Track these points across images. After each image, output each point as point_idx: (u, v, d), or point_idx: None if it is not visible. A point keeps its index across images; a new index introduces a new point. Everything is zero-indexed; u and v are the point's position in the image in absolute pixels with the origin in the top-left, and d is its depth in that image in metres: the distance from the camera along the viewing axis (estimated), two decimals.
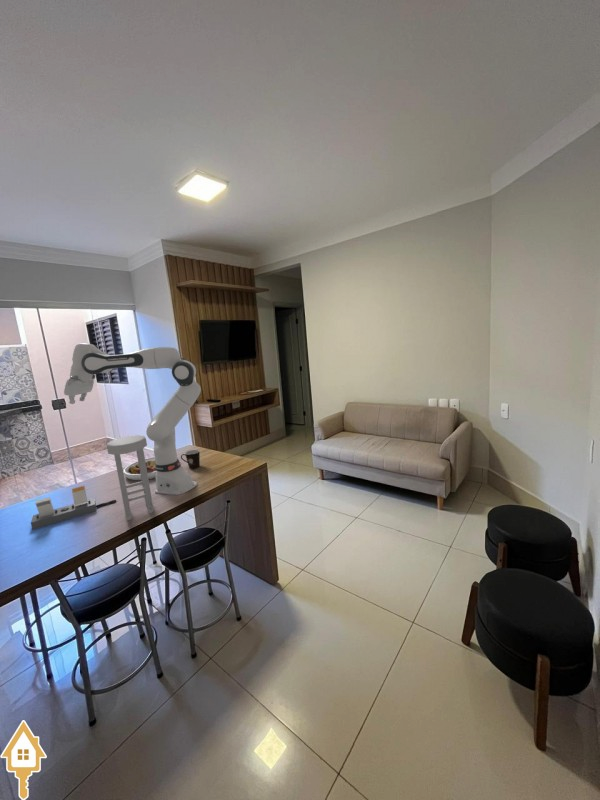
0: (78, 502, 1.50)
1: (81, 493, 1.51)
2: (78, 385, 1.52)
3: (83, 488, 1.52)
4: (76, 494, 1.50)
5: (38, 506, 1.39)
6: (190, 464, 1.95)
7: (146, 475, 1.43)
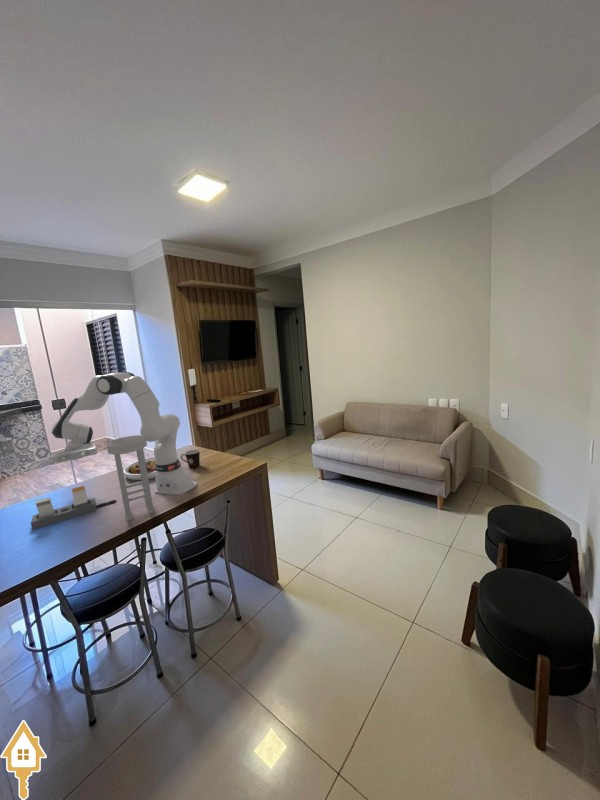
0: (78, 502, 1.50)
1: (81, 493, 1.51)
2: (63, 452, 1.62)
3: (83, 488, 1.52)
4: (76, 494, 1.50)
5: (38, 506, 1.39)
6: (190, 464, 1.95)
7: (146, 475, 1.43)
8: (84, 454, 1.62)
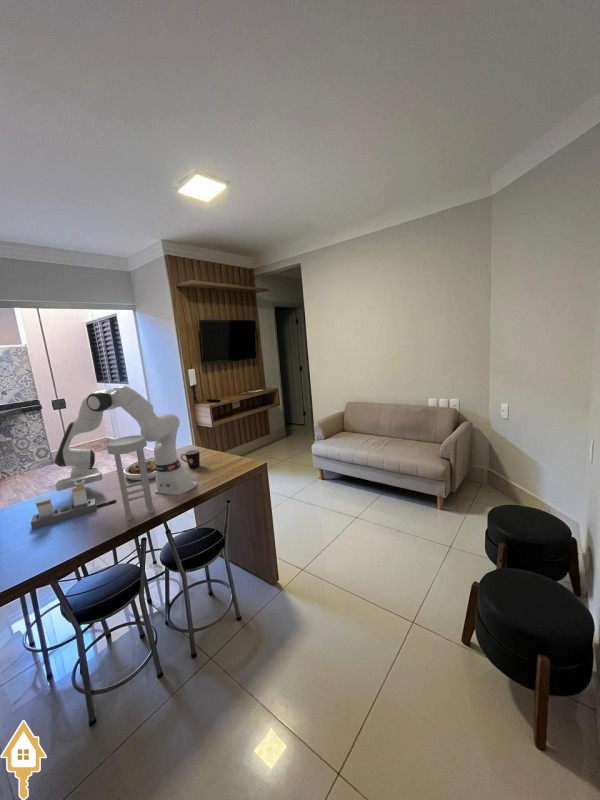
0: (78, 502, 1.50)
1: (81, 493, 1.51)
2: (69, 479, 1.64)
3: (83, 488, 1.52)
4: (76, 494, 1.50)
5: (38, 506, 1.39)
6: (190, 464, 1.95)
7: (146, 475, 1.43)
8: (84, 482, 1.62)
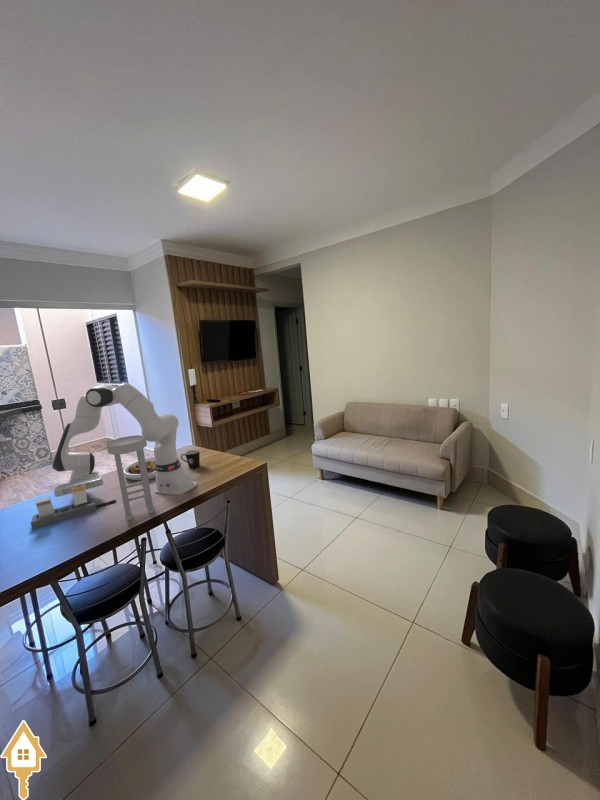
0: (78, 502, 1.50)
1: (81, 493, 1.51)
2: (68, 484, 1.57)
3: (83, 488, 1.51)
4: (76, 494, 1.50)
5: (38, 506, 1.39)
6: (190, 464, 1.95)
7: (146, 475, 1.43)
8: None
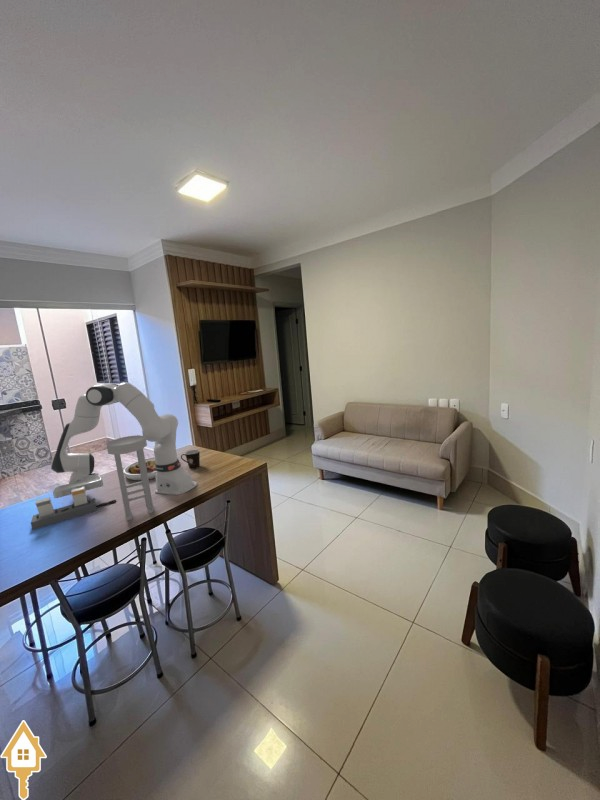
0: (78, 503, 1.49)
1: (81, 495, 1.49)
2: (67, 485, 1.55)
3: (83, 491, 1.49)
4: (76, 496, 1.48)
5: (38, 506, 1.39)
6: (190, 464, 1.95)
7: (146, 475, 1.43)
8: None
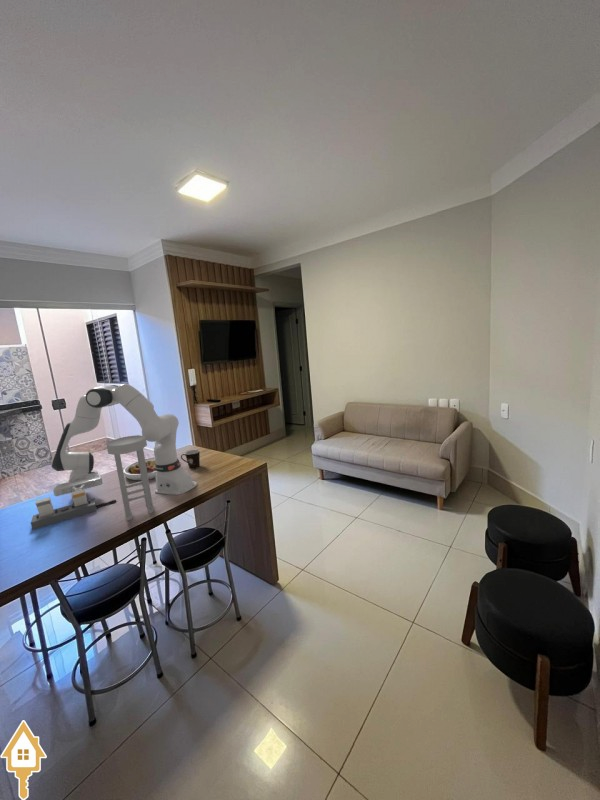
0: (78, 504, 1.49)
1: (81, 497, 1.48)
2: (67, 484, 1.58)
3: (83, 494, 1.48)
4: (76, 498, 1.47)
5: (38, 506, 1.39)
6: (190, 464, 1.95)
7: (146, 475, 1.43)
8: (83, 487, 1.56)
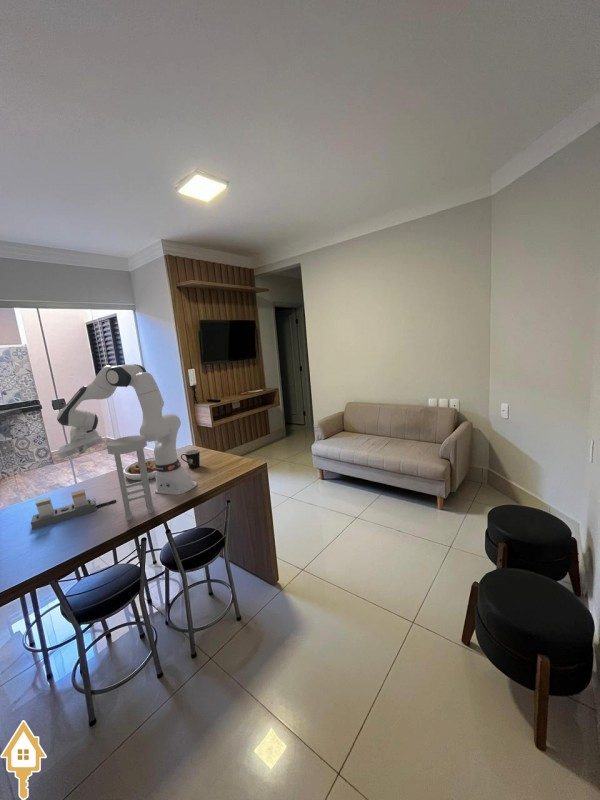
0: (78, 504, 1.49)
1: (81, 497, 1.48)
2: (70, 445, 1.64)
3: (83, 494, 1.48)
4: (76, 498, 1.47)
5: (38, 506, 1.39)
6: (190, 464, 1.95)
7: (146, 475, 1.43)
8: (85, 448, 1.63)
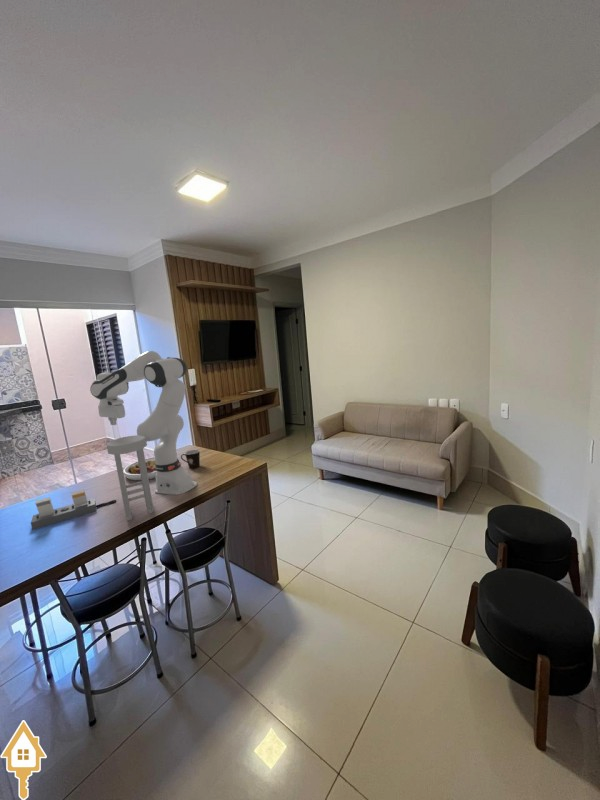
0: (78, 504, 1.49)
1: (81, 497, 1.48)
2: (103, 409, 1.79)
3: (83, 494, 1.48)
4: (76, 498, 1.47)
5: (38, 506, 1.39)
6: (190, 464, 1.95)
7: (146, 475, 1.43)
8: (115, 420, 1.79)
